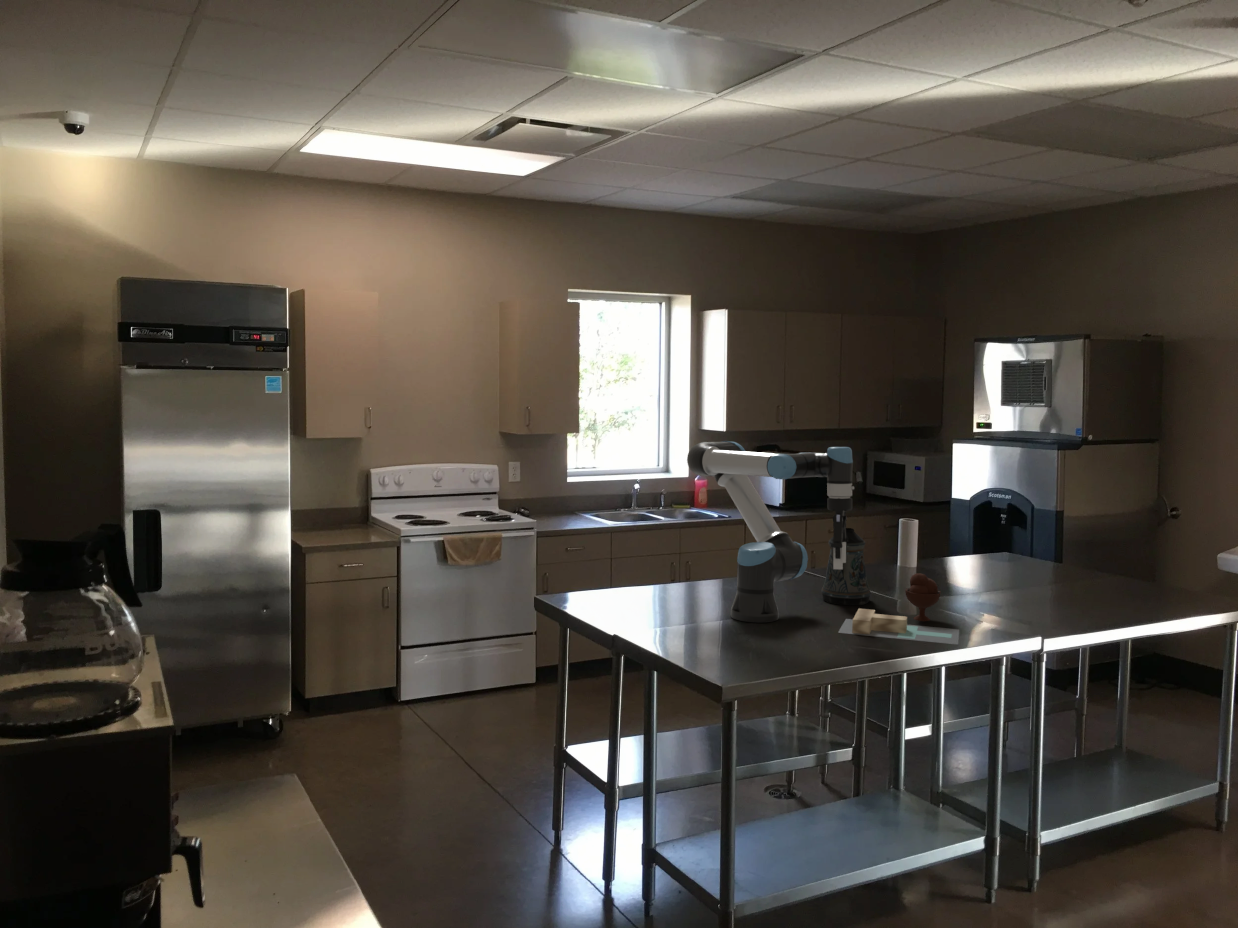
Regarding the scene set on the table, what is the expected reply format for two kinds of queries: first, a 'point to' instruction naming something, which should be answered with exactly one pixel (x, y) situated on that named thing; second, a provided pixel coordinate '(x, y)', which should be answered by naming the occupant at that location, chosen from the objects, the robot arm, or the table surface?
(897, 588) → the table surface
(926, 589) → the ice cream bowl
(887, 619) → the t block
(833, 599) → the beer stein
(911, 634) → the push board
